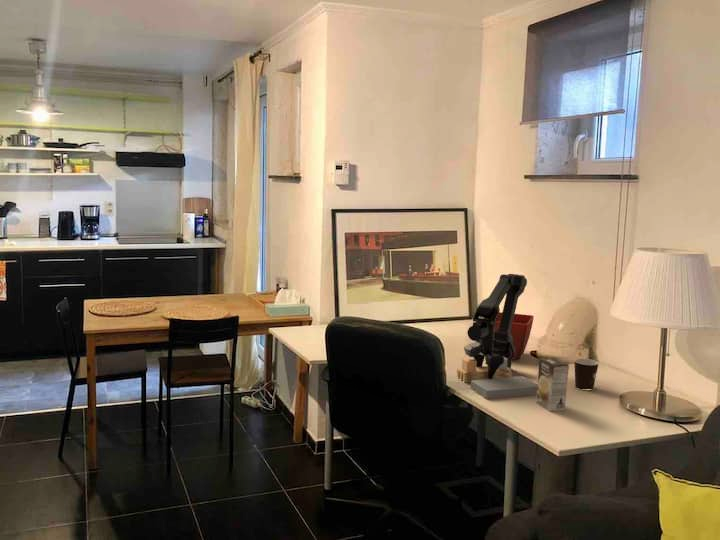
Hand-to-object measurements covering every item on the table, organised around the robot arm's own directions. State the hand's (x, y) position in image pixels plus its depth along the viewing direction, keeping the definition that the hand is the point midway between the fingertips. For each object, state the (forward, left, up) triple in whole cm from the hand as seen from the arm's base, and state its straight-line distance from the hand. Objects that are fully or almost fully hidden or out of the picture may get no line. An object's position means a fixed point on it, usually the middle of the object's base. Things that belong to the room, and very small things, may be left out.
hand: (484, 375), depth 263 cm
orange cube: (+7, 0, +3) cm, 7 cm away
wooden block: (0, 0, -1) cm, 1 cm away
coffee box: (-7, +34, -1) cm, 35 cm away
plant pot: (-26, -28, -1) cm, 38 cm away
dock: (0, +16, -1) cm, 16 cm away
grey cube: (-7, 0, +3) cm, 7 cm away
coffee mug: (-33, +19, -1) cm, 38 cm away
